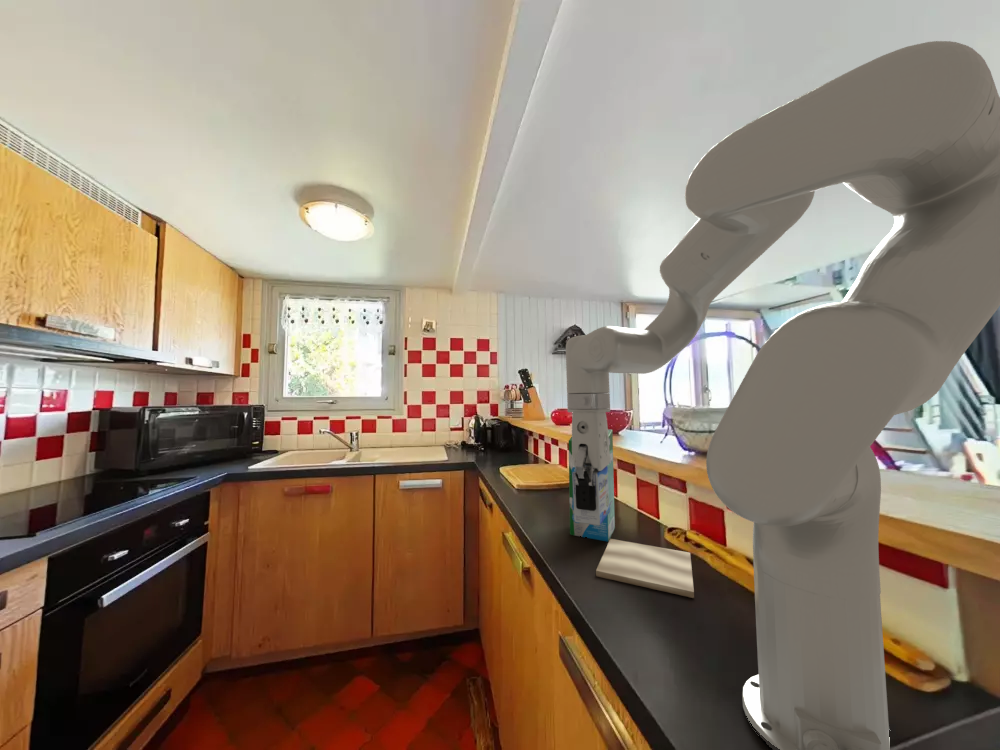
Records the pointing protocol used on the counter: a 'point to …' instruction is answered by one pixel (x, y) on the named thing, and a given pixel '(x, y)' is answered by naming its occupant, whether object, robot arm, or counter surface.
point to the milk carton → (608, 523)
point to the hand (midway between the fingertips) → (591, 501)
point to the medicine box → (601, 500)
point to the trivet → (647, 567)
